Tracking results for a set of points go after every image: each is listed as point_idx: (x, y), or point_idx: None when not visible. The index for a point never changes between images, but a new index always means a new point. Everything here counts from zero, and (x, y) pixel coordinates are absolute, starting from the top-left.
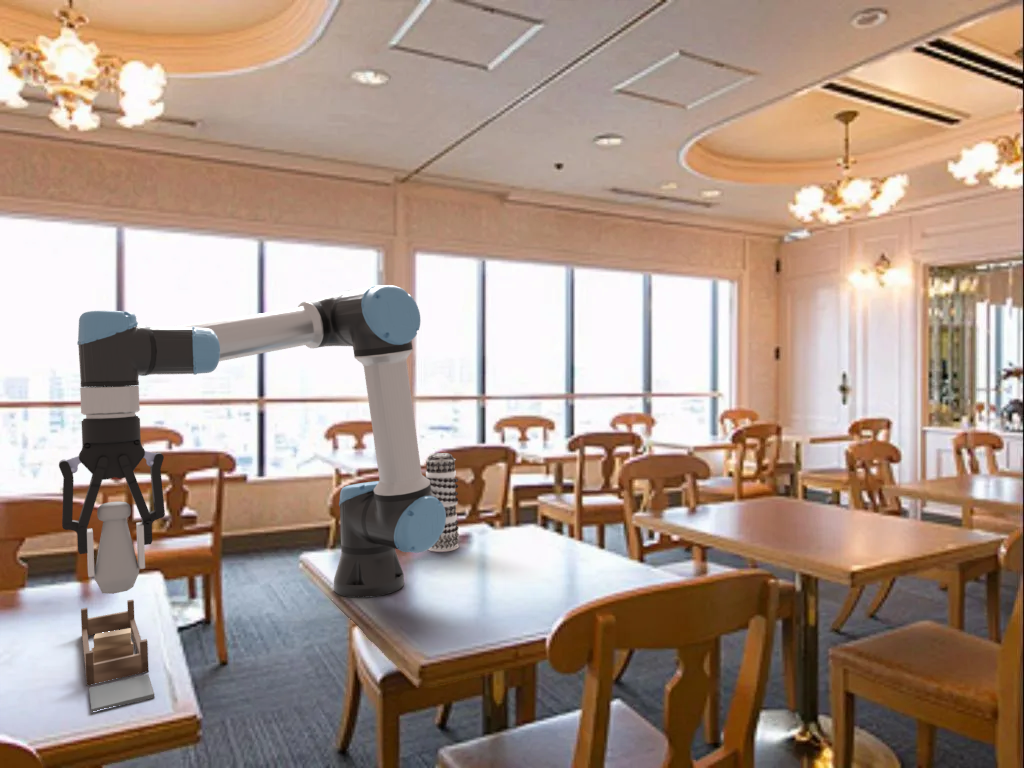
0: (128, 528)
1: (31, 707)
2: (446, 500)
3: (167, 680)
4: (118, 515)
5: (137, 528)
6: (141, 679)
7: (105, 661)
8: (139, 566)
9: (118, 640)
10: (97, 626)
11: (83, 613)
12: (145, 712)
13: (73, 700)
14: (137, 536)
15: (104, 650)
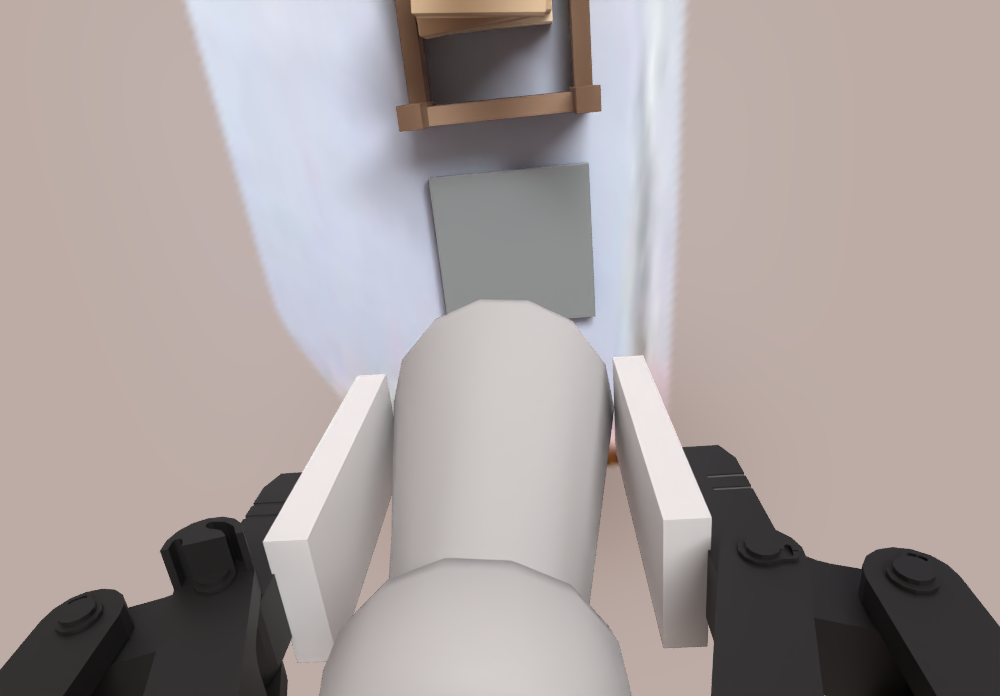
0: (590, 585)
1: (295, 202)
2: None
3: (636, 211)
4: None
5: (657, 584)
6: (567, 195)
7: (463, 113)
8: (617, 457)
9: (500, 14)
10: None
11: None
12: None
13: (395, 214)
14: (644, 512)
15: (454, 29)
